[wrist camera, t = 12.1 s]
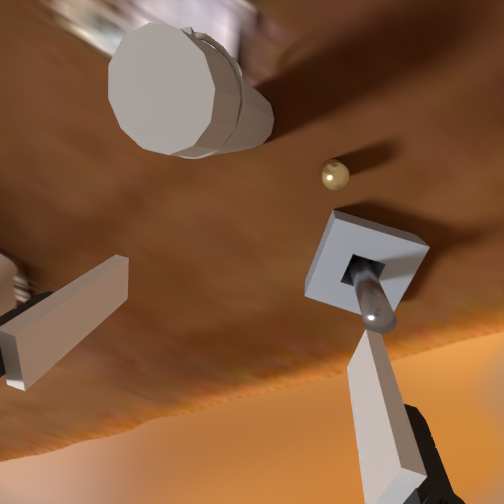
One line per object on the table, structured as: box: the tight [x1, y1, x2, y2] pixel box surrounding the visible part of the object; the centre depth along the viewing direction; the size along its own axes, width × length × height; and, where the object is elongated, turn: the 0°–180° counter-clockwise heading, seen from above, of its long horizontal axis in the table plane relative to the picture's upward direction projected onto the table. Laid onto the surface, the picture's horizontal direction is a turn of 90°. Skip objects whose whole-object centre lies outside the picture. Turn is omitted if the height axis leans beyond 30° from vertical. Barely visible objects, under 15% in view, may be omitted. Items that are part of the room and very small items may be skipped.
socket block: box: [305, 210, 430, 315], centre depth 41 cm, size 12×12×5 cm
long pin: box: [348, 254, 397, 334], centre depth 36 cm, size 3×3×16 cm
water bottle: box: [108, 23, 274, 159], centre depth 27 cm, size 9×8×25 cm
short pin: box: [321, 159, 349, 190], centre depth 36 cm, size 3×3×7 cm
